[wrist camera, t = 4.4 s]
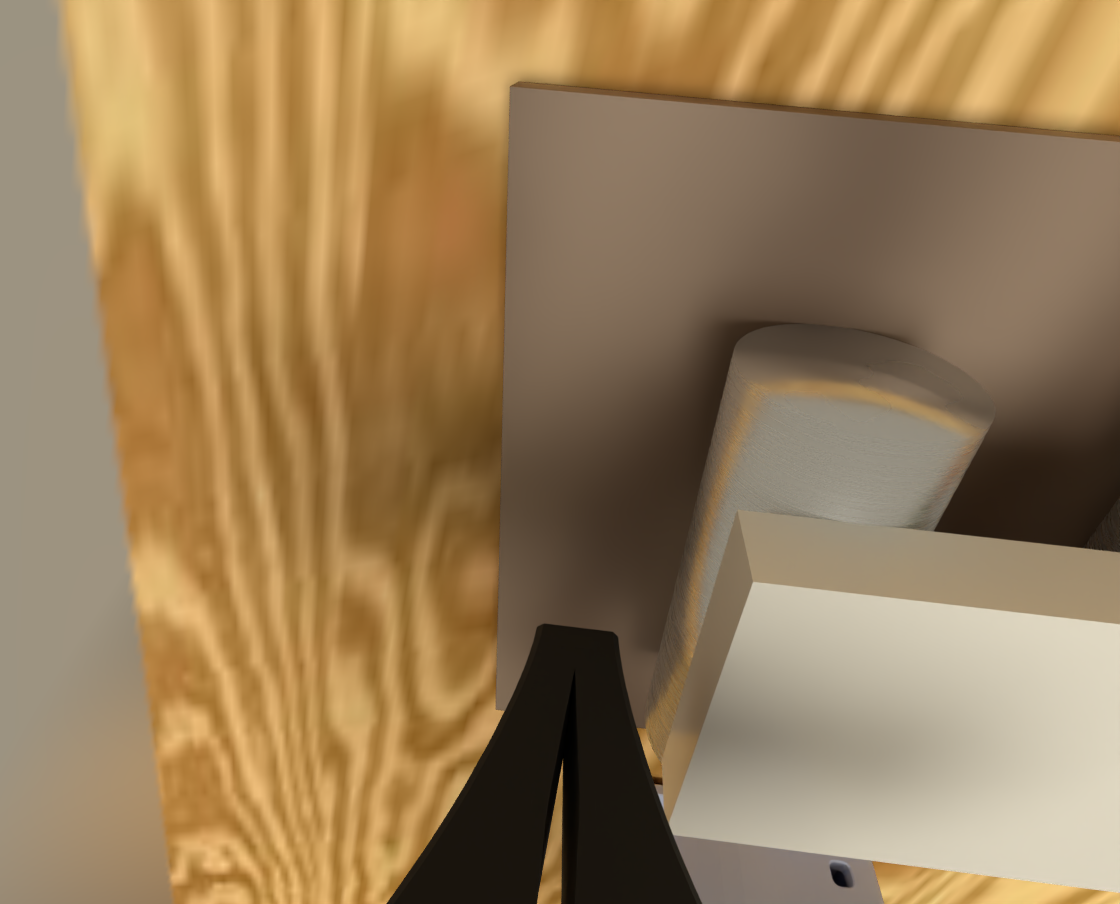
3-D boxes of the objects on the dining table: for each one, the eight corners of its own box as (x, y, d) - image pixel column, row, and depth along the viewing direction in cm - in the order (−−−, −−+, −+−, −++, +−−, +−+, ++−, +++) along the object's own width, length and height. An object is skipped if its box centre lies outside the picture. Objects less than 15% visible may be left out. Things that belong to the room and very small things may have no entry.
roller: (777, 306, 13) (1004, 369, 11) (685, 636, 18) (824, 712, 17) (694, 378, 10) (982, 477, 8) (615, 742, 15) (774, 846, 14)
